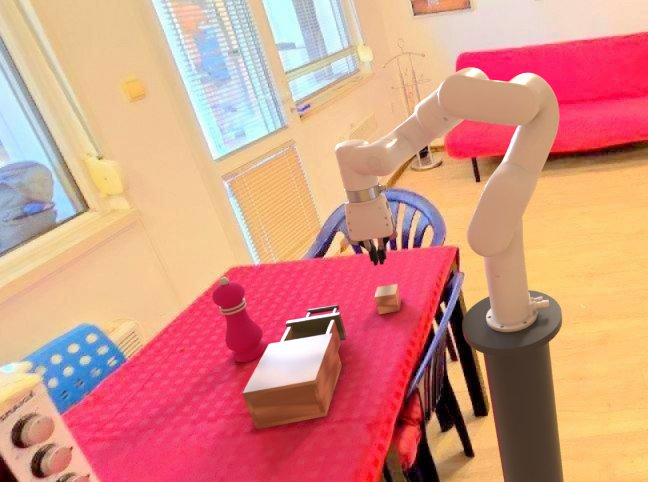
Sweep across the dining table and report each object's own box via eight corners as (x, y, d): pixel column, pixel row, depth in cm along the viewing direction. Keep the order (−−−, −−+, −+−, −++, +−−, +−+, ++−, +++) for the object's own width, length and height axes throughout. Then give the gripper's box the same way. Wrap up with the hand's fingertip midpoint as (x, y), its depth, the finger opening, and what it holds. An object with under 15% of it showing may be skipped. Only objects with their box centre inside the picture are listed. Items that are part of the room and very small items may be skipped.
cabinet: (280, 377, 111) (269, 343, 108) (342, 366, 112) (332, 332, 109) (255, 429, 97) (242, 393, 94) (326, 416, 99) (315, 380, 96)
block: (401, 300, 135) (397, 283, 133) (399, 311, 131) (395, 293, 129) (381, 303, 135) (377, 286, 133) (378, 314, 130) (374, 297, 128)
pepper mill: (225, 360, 117) (195, 284, 110) (252, 341, 124) (226, 267, 116) (247, 366, 115) (218, 288, 107) (275, 346, 121) (249, 271, 114)
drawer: (303, 327, 126) (296, 303, 123) (352, 319, 127) (346, 295, 125) (276, 386, 107) (266, 359, 104) (334, 375, 108) (326, 348, 106)
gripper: (398, 183, 126) (412, 250, 132) (332, 192, 124) (350, 260, 130) (395, 194, 119) (410, 264, 125) (325, 203, 117) (344, 275, 123)
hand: (379, 262), depth 128 cm, fingers closed
